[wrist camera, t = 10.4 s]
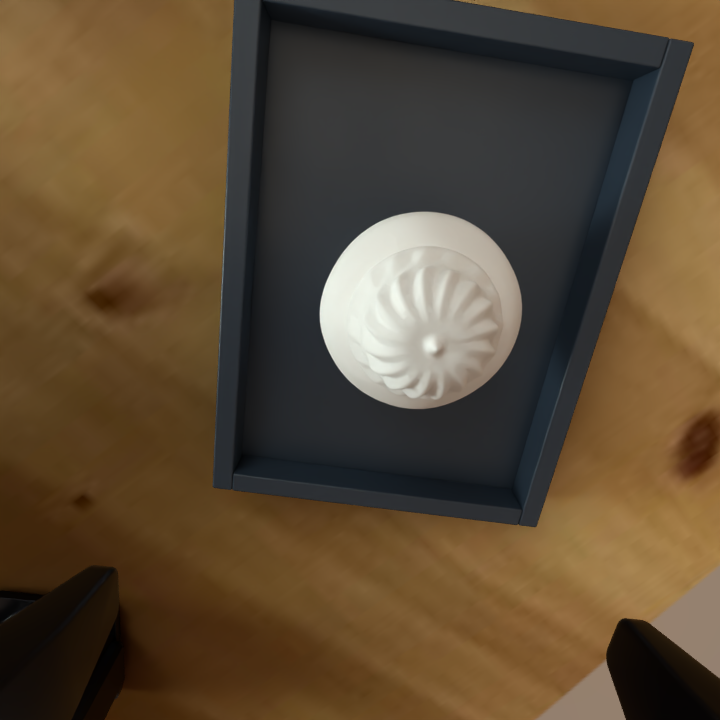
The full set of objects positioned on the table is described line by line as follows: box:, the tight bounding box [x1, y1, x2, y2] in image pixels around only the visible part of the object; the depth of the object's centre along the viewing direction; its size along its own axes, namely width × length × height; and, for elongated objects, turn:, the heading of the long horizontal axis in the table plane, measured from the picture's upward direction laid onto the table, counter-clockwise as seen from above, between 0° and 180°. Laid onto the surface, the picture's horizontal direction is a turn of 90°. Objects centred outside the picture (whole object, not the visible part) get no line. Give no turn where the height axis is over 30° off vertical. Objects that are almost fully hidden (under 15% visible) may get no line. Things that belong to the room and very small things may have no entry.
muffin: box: [320, 212, 522, 409], centre depth 14 cm, size 6×6×7 cm
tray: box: [213, 0, 694, 527], centre depth 17 cm, size 14×18×2 cm
